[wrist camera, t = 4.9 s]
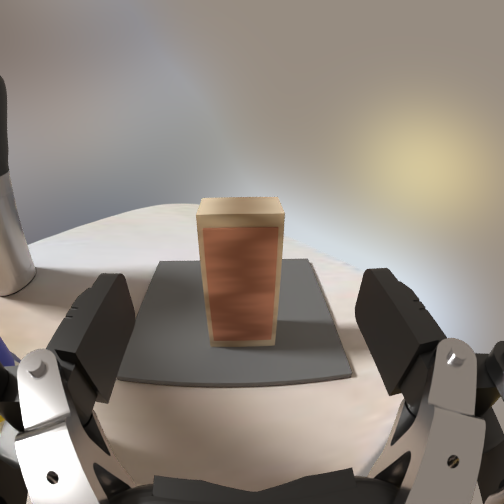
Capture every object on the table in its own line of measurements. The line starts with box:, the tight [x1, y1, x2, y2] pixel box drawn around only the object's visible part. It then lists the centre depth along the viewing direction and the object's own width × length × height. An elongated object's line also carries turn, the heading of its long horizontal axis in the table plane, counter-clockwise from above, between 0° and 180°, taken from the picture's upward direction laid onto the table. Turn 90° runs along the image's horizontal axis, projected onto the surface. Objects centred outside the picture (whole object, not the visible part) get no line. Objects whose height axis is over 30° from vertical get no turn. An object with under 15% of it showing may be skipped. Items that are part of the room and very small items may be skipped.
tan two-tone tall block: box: [196, 197, 285, 347], centre depth 23 cm, size 6×4×13 cm, turn 93°
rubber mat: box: [117, 259, 352, 387], centre depth 30 cm, size 21×20×1 cm
